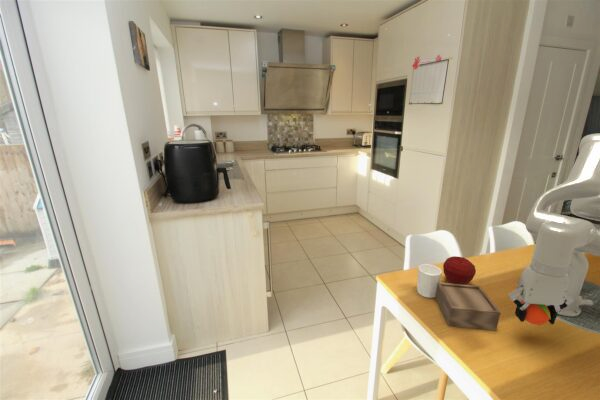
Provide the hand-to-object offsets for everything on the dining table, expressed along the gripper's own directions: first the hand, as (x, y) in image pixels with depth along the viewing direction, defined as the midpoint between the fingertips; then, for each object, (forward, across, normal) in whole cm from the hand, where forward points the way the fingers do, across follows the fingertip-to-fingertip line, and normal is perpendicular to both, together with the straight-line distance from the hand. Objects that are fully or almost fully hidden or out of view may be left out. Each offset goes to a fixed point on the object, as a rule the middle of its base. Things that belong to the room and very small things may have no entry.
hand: (534, 319), depth 81 cm
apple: (+8, +11, -27) cm, 30 cm away
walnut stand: (+7, +15, -9) cm, 19 cm away
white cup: (+7, +24, -19) cm, 32 cm away
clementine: (+2, 0, 0) cm, 2 cm away
